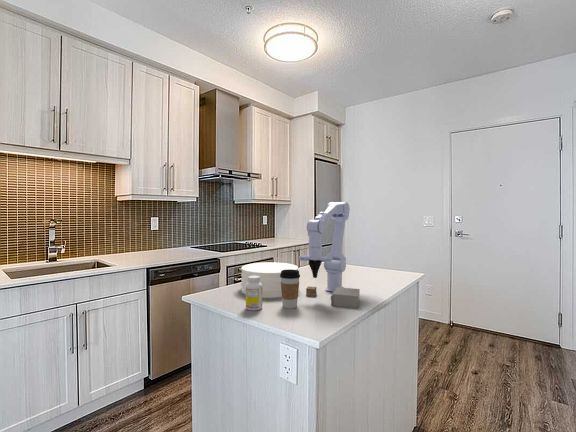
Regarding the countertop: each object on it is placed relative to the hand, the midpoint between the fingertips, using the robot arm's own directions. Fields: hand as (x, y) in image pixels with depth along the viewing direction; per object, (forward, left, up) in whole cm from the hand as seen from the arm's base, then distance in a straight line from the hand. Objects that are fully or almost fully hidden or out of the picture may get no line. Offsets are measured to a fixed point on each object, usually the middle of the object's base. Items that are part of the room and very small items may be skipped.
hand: (315, 277), depth 138 cm
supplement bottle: (+20, -21, -10) cm, 30 cm away
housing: (0, +14, -10) cm, 17 cm away
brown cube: (-6, -3, -10) cm, 12 cm away
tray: (0, +13, -10) cm, 16 cm away
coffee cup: (+12, -8, -10) cm, 18 cm away
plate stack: (-10, -25, -10) cm, 29 cm away
